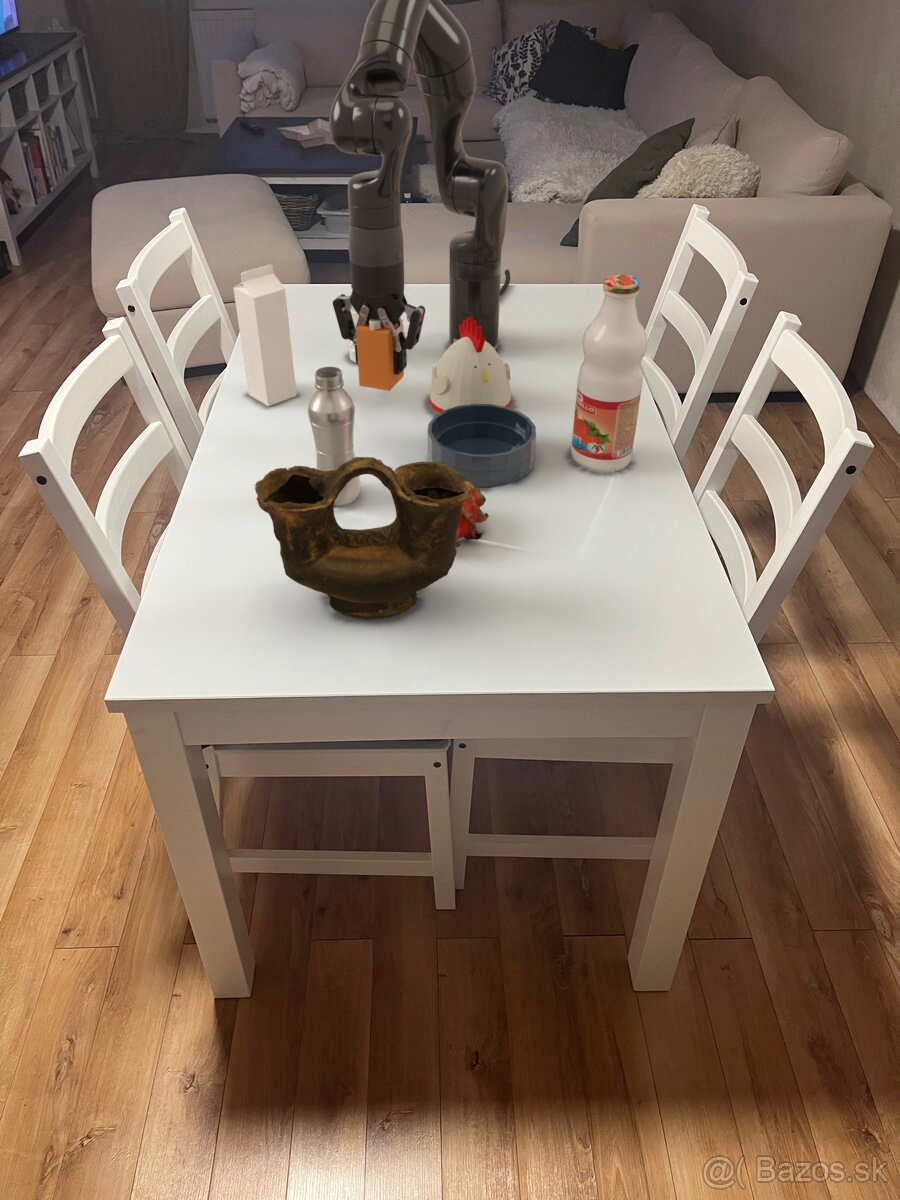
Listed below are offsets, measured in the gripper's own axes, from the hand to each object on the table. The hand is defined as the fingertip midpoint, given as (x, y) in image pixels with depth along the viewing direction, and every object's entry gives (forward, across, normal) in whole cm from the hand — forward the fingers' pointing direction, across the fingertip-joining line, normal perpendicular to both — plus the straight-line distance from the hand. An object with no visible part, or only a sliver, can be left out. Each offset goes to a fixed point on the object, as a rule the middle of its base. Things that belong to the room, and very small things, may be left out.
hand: (381, 369), depth 141 cm
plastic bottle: (+13, 0, +17) cm, 22 cm away
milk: (+13, +25, -9) cm, 30 cm away
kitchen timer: (+13, -8, -18) cm, 24 cm away
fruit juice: (+13, -33, -8) cm, 37 cm away
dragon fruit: (+13, -19, +20) cm, 31 cm away
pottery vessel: (+13, -14, +36) cm, 41 cm away
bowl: (+13, -16, 0) cm, 21 cm away
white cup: (+13, +16, -29) cm, 36 cm away
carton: (+2, 0, 0) cm, 2 cm away
